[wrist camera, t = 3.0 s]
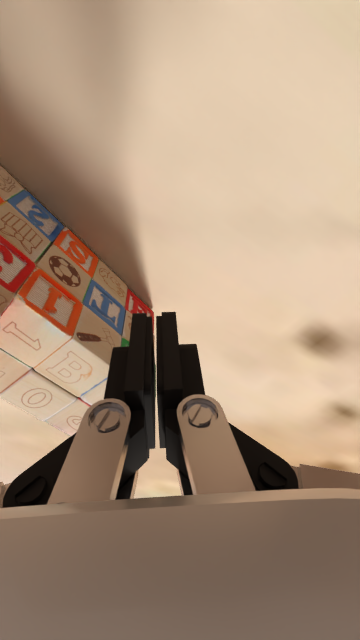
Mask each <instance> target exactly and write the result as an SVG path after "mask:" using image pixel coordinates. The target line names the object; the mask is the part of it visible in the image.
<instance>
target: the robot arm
mask: <svg viewBox="0 0 360 640" xmlns="http://www.w3.org/2000/svg"><path fill="white" fill-rule="evenodd" d="M156 328H157V403H158V421H159V439H160V448H166V459H167V460H168V461H169V462H170V463H171V464H172V465H174V466H175V467H176V468H177V475H178V480H179V484H180V489H181V494H182V496H168V497H153V498H138V499H134V494H135V489H136V484H137V479H138V469H139V468H140V467H141V466H142V465H143V464H144V463H145V462H146V461H147V458H149V449H154V448H155V358H154V340H153V322H152V316H147V313H133V314H132V322H131V331H130V340H129V346H128V347H113V349H112V354H111V360H110V366H109V371H108V377H107V383H106V388H105V394H104V400H100V401H98V402H96V403H94V404H92V405H91V406H90V407H89V408H88V409H87V411H86V412H85V414H84V416H83V418H82V420H81V423H80V425H79V428H78V430H77V432H76V433H75V434H73V435H72V436H71V437H69V438H68V439H67V440H65V441H64V442H63V443H61V444H60V445H59V446H57V447H56V448H55V449H53V450H52V451H51V452H49V453H48V454H47V455H46V456H44V457H43V458H42V459H40V460H39V461H38V462H36V463H35V464H34V465H32V466H31V467H30V468H28V469H27V470H26V471H24V472H23V473H22V474H20V475H19V476H18V477H17V478H16V479H15V480H14V481H13V482H12V483H9V484H6V485H4V484H3V482H0V640H360V474H358V473H352V472H345V471H339V470H333V469H327V468H321V467H315V466H309V465H303V464H300V465H299V467H295V466H290V465H289V464H288V463H287V462H286V461H285V460H284V459H282V458H281V457H279V456H278V455H276V454H275V453H273V452H272V451H270V450H269V449H267V448H266V447H264V446H263V445H261V444H260V443H258V442H257V441H255V440H254V439H252V438H251V437H249V436H248V435H246V434H245V433H243V432H242V431H240V430H239V429H237V428H236V427H234V426H233V425H231V424H230V423H228V421H227V419H226V416H225V414H224V411H223V409H222V407H221V405H220V404H219V403H218V402H217V401H216V400H215V399H214V398H212V397H209V396H207V395H205V391H204V385H203V379H202V374H201V368H200V362H199V356H198V350H197V345H196V344H181V345H179V343H178V333H177V322H176V312H162V316H156Z"/></svg>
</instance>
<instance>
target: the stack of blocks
mask: <svg viewBox="0 0 360 640" xmlns="http://www.w3.org/2000/svg"><path fill="white" fill-rule="evenodd" d="M133 313H147V316H152V322H153V333H154V312H153V311H152V310H151V309H150V308H149V307H147V306H146V305H145V304H144V303H143V302H142V301H141V300H140V299H139V298H138V297H137V296H136V295H135V294H133V293H132V292H131V291H130V290H129V289H128V288H127V285H126V284H125V283H124V282H123V281H122V280H121V279H120V278H119V277H118V276H116V275H115V274H114V273H113V272H112V271H111V270H110V269H109V268H108V267H107V266H106V265H105V264H104V263H103V262H102V261H100V260H99V259H98V258H97V256H96V255H95V254H94V253H93V252H92V251H91V250H90V249H89V248H88V247H87V246H86V245H85V244H83V243H82V242H81V241H80V240H79V239H78V238H77V237H76V236H75V235H74V234H73V233H72V232H71V231H70V230H69V229H68V228H66V227H64V226H63V225H62V224H61V223H60V222H59V221H58V220H57V219H56V218H55V217H54V216H53V215H52V214H51V213H50V212H49V211H48V210H47V209H46V208H45V207H44V206H43V205H42V204H41V203H40V202H38V201H37V200H36V199H35V198H34V197H33V196H32V195H31V194H30V193H29V192H28V191H26V190H25V189H24V188H23V187H22V186H21V185H20V184H19V183H18V182H17V181H16V180H15V179H14V178H13V177H12V176H11V175H10V174H9V173H8V172H7V171H6V170H5V169H4V168H3V167H2V166H1V165H0V399H2V400H4V401H6V402H8V403H10V404H12V405H13V406H15V407H17V408H19V409H21V410H23V411H24V412H26V413H28V414H30V415H31V416H33V417H35V418H37V419H39V420H41V421H46V422H47V423H48V424H50V425H51V426H53V427H55V428H57V429H59V430H61V431H62V432H64V433H66V434H67V435H69V436H72V435H73V434H75V433H76V432H77V430H78V428H79V425H80V423H81V420H82V418H83V416H84V414H85V412H86V411H87V409H88V408H89V407H90V406H91V405H92V404H94V403H96V402H98V401H100V400H104V394H105V388H106V383H107V377H108V371H109V366H110V360H111V354H112V349H113V347H128V346H129V340H130V331H131V322H132V314H133ZM153 340H154V335H153ZM155 397H156V365H155Z"/></svg>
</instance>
